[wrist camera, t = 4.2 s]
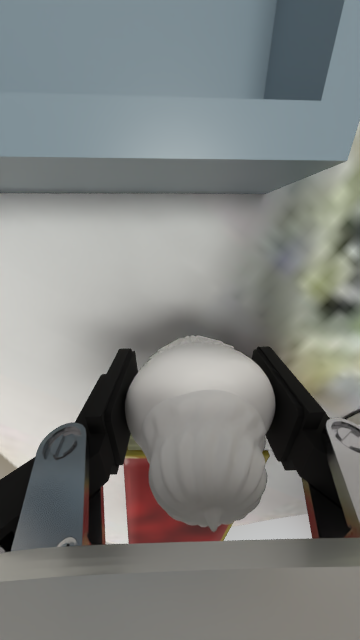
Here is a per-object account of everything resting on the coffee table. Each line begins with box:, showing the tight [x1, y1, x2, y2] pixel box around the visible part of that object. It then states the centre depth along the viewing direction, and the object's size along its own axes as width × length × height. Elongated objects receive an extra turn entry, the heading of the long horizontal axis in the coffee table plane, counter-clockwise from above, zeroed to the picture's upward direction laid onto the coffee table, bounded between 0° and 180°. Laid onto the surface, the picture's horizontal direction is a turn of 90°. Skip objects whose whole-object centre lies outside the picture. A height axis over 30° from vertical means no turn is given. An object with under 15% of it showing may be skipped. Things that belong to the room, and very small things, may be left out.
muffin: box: [125, 335, 276, 532], centre depth 8 cm, size 6×6×7 cm
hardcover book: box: [124, 435, 270, 544], centre depth 20 cm, size 12×21×4 cm, turn 174°
